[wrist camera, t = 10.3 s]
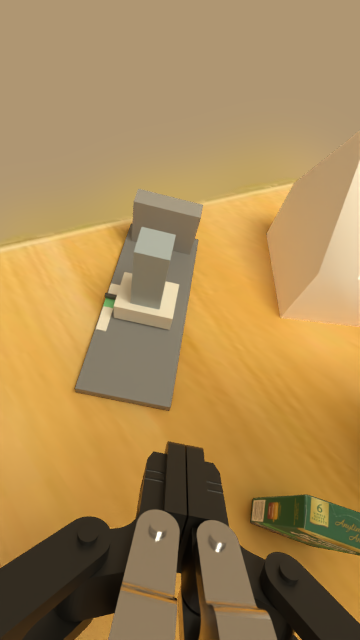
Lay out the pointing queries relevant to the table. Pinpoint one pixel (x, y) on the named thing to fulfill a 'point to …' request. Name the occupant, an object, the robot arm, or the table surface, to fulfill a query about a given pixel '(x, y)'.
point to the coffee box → (309, 521)
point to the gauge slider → (148, 282)
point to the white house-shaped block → (320, 242)
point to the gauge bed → (139, 339)
